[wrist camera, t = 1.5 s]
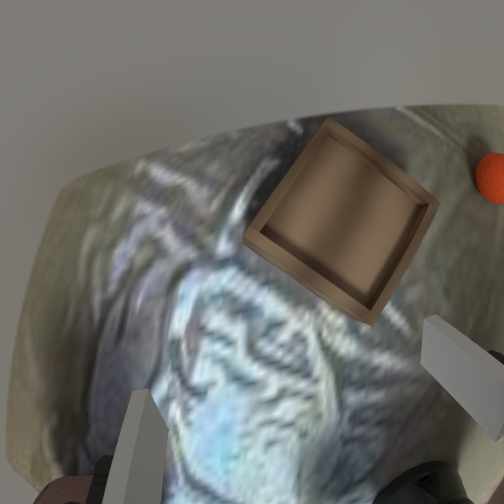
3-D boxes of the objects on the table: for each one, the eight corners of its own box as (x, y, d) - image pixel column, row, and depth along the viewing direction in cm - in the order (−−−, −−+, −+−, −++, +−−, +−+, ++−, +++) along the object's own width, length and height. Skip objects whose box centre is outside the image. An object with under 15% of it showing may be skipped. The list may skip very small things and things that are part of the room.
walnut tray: (407, 215, 35) (440, 202, 27) (347, 316, 34) (372, 326, 27) (312, 145, 35) (328, 116, 28) (243, 243, 34) (242, 235, 27)
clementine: (489, 155, 36) (518, 139, 29) (507, 197, 36) (538, 187, 29) (459, 167, 36) (490, 151, 29) (478, 214, 35) (511, 205, 28)
